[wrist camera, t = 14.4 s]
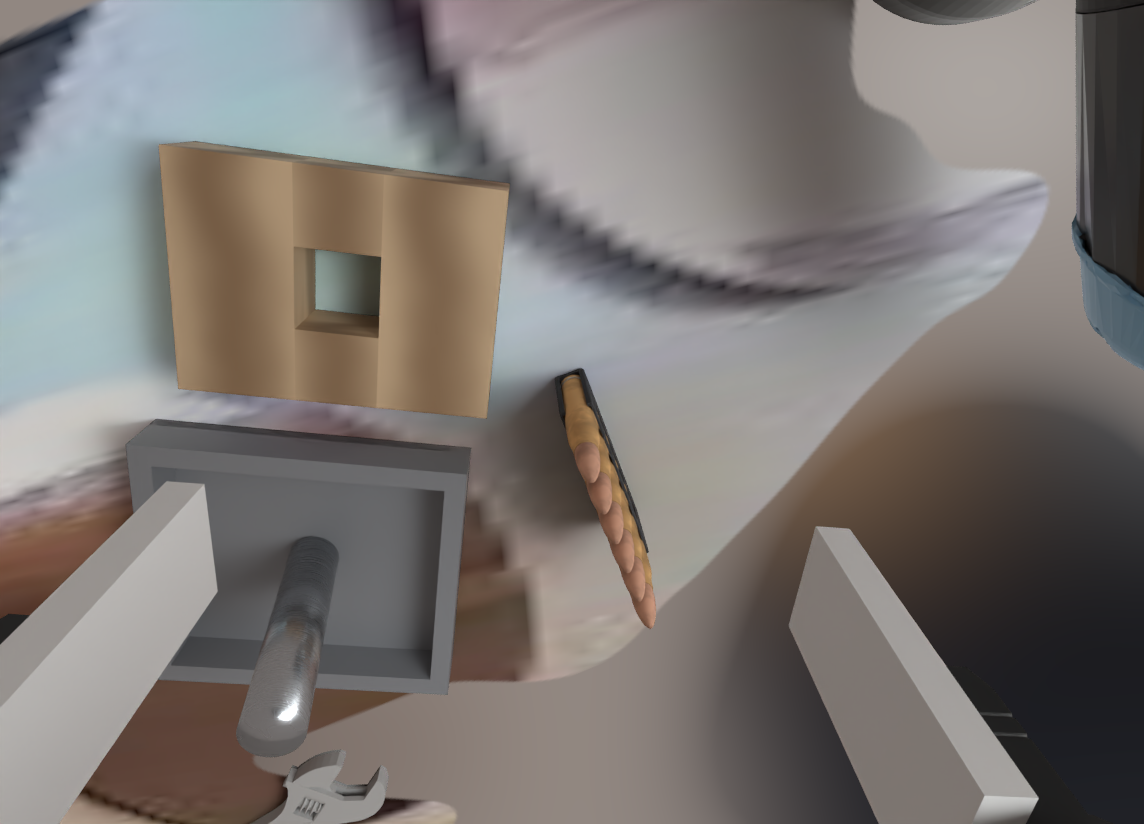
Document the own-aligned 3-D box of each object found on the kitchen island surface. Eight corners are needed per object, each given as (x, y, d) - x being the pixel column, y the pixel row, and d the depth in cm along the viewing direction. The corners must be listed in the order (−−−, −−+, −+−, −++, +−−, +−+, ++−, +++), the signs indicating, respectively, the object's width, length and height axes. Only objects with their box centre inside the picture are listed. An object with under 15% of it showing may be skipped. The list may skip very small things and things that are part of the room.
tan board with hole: (509, 183, 38) (508, 191, 34) (489, 392, 42) (486, 418, 39) (195, 141, 36) (158, 144, 32) (209, 363, 41) (178, 388, 37)
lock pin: (339, 537, 45) (307, 705, 32) (338, 577, 46) (306, 755, 33) (289, 536, 44) (235, 707, 31) (288, 576, 45) (236, 758, 32)
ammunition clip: (553, 377, 42) (565, 470, 31) (582, 366, 42) (604, 456, 31) (610, 520, 46) (638, 647, 35) (637, 511, 46) (673, 635, 35)
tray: (471, 448, 44) (467, 474, 40) (452, 657, 50) (447, 694, 47) (156, 419, 42) (125, 444, 38) (177, 641, 48) (152, 679, 45)
